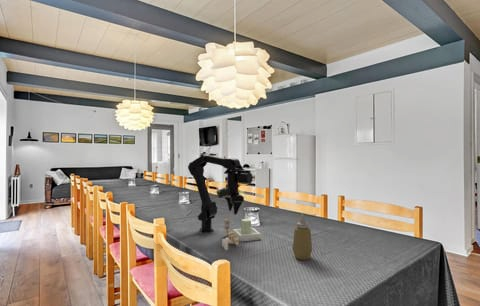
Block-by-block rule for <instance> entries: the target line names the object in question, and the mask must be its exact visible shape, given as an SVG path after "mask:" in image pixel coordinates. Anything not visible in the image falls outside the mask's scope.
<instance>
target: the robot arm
mask: <svg viewBox="0 0 480 306" xmlns="http://www.w3.org/2000/svg"><path fill="white" fill-rule="evenodd" d="M208 163H209V164H213V165H218V166H221V167H223V168H224V169H226V170H225V171H224V172H223V174H224V175H225V174H226V175H227V176H226V177H227V181H226V183H227V184H225V187H223V188H220V189H218V190H216V192H215V193H216V195H217V197H218V198H219V199H221V198H224V200H225V201H226V203H227V207H228V211H229V212H231V211H232V209H233V214H234V215H235V216H236V215H237V214H238V212H239V210H240V208H241V206H242V204H243V203H244V201H245V197H244V196H243V195H242V194H240V192H239V188H240V184H246V185H251V184H252V182H253V174H252V171H251V170H249V169H247V170H245V169H244V167H243V166H242V164H241V162H240V160H239V159H238V158H224V157H219V156H213V155H210V154H200V156H199V157H197V158H196V159H194V160H193V161H190V162H189V163H188V166H187V169H188V171H189V173H190V175H191V176H192V177H193V179H194V180H195V185H196V188H197V191H198V194H199V198H200V200H201V207H200V209H201V210H200V211H201V212H200V213H199V215H198V216H197V219H198V221H200V222H201V224H200V225H201V226H200V228H199V230H200V232H201V233H207V232H214V229H213V227H212V226H213V224H212V221H213V219H215V217H216V216H217V213H218V207H217V203H216V201H212V199H211V197H210V194H209V191H208V188H207V187H208V186H207V184H206V180H205V178H204V172H205V169H204V168H205V166H206V165H207V164H208Z"/></svg>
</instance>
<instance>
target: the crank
mask: <svg viewBox="0 0 480 306" xmlns="http://www.w3.org/2000/svg"><path fill="white" fill-rule="evenodd" d="M224 230H225V234H226V235H227V237H229V239H231V240H232V241H233V242H234V243H235V244H234V245H236V246H237V245H239V244H240V241H239V239H238V238H237V237H236V236H235V234H234V233H233V231H231V229H230V221H229V220H228V219H227V218H224Z"/></svg>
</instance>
